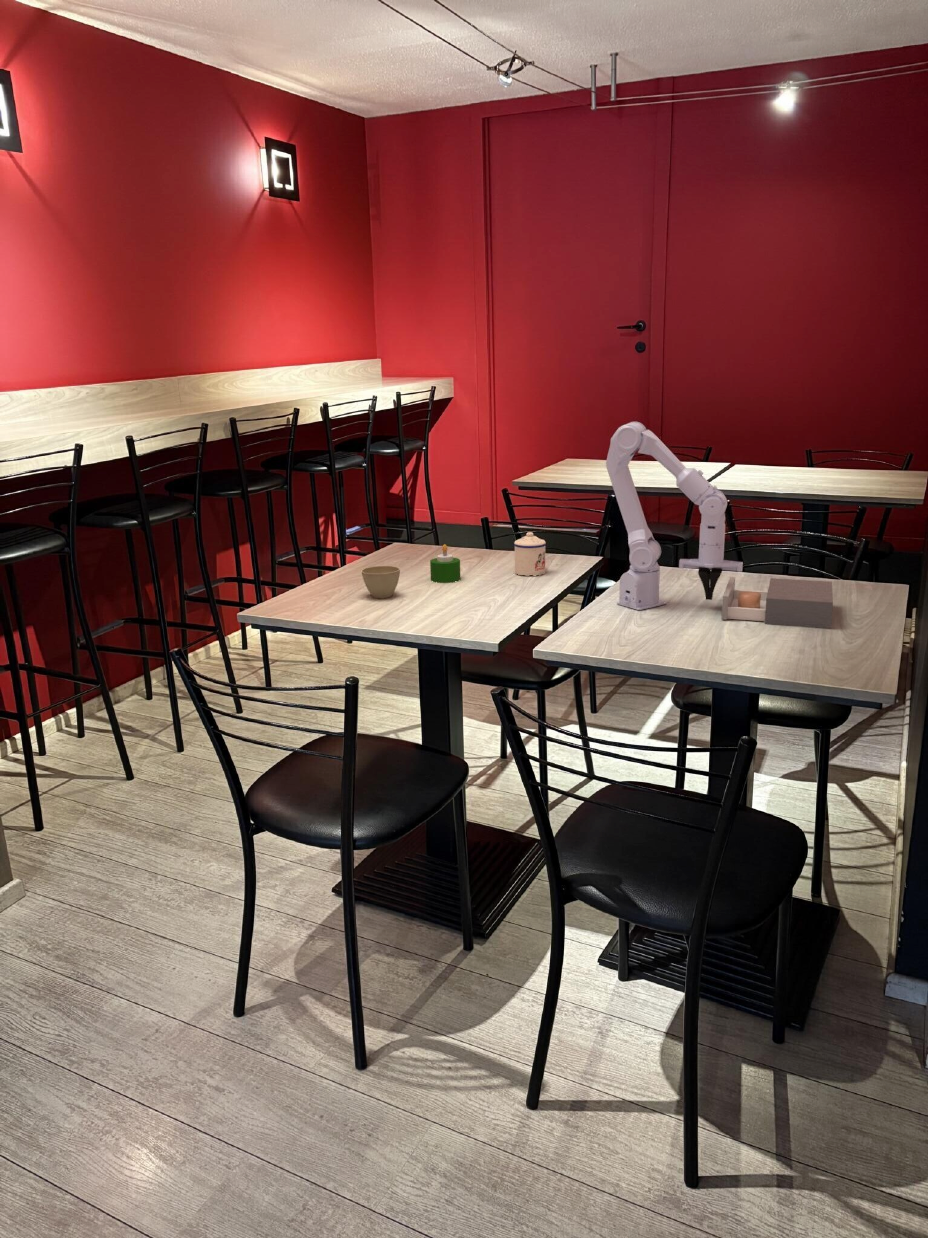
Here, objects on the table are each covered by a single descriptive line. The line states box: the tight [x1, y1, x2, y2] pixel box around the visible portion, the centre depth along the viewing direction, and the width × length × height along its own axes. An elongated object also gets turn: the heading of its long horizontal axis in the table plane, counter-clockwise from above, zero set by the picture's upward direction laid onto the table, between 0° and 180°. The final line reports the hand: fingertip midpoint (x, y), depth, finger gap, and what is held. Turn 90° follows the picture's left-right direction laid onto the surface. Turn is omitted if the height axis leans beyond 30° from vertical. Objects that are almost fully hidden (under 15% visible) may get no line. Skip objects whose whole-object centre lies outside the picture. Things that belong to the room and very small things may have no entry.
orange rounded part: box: [738, 590, 761, 609], centre depth 222 cm, size 5×5×4 cm
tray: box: [721, 576, 768, 622], centre depth 222 cm, size 12×20×6 cm, turn 160°
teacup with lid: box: [513, 531, 547, 577], centre depth 266 cm, size 12×9×12 cm
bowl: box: [360, 565, 401, 599], centre depth 244 cm, size 10×10×7 cm
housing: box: [764, 577, 834, 629], centre depth 218 cm, size 14×20×6 cm
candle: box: [429, 543, 461, 584], centre depth 260 cm, size 8×8×10 cm
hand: (709, 598), depth 225 cm, fingers closed
